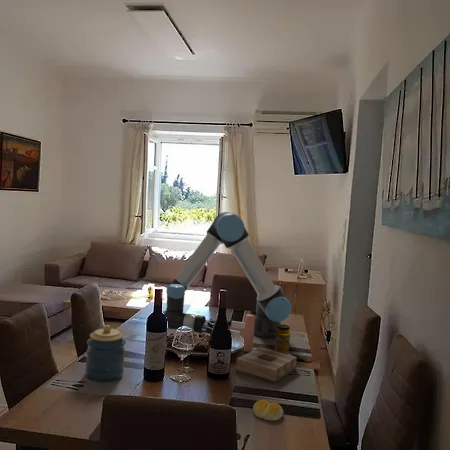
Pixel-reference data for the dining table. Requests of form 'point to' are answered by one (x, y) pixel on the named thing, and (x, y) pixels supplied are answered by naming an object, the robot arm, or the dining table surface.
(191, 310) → the dining table surface
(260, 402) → the bread roll
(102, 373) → the canister
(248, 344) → the peg
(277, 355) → the socket block
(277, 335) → the condiment
